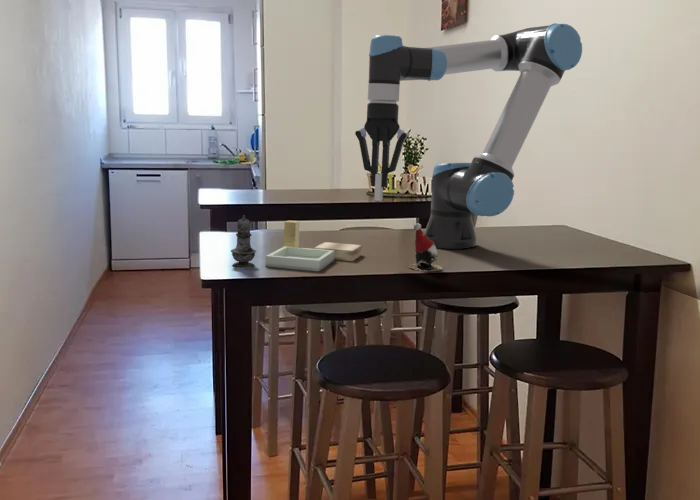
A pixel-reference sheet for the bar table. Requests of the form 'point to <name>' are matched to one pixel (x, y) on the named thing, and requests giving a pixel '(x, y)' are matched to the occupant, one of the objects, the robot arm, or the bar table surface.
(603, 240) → the bar table surface
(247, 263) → the salt shaker
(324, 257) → the tray
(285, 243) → the block
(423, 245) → the figurine
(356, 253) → the beige rectangular block
